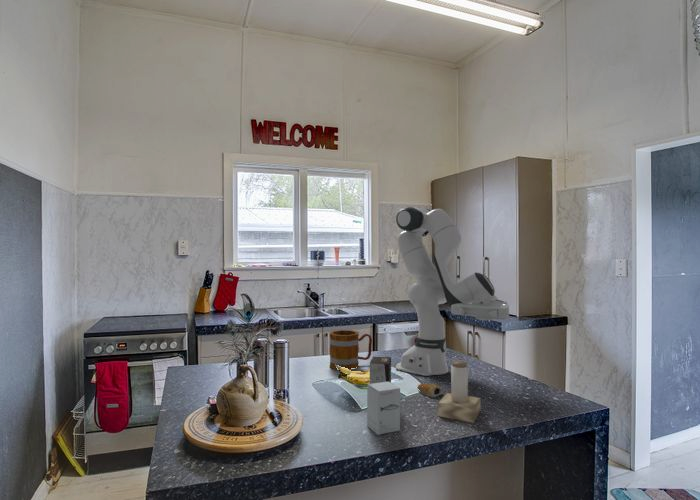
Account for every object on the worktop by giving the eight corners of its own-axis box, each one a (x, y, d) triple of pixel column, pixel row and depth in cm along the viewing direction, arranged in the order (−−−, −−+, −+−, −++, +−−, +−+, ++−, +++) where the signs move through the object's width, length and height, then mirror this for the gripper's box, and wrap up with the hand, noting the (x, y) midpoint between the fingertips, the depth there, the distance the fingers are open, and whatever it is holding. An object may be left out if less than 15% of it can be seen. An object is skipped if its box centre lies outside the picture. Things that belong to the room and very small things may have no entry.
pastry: (412, 391, 158) (413, 381, 158) (425, 388, 162) (426, 378, 162) (431, 399, 150) (431, 388, 150) (444, 395, 154) (444, 384, 154)
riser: (437, 416, 134) (437, 402, 134) (447, 404, 144) (447, 392, 144) (473, 422, 129) (473, 408, 129) (480, 410, 139) (480, 397, 139)
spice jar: (449, 401, 135) (449, 363, 135) (453, 396, 140) (453, 359, 140) (465, 404, 133) (466, 365, 133) (469, 398, 138) (469, 361, 138)
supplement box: (378, 435, 120) (378, 391, 120) (366, 425, 127) (366, 383, 127) (400, 431, 123) (400, 387, 123) (388, 421, 130) (388, 380, 130)
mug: (333, 371, 182) (333, 336, 182) (326, 363, 195) (326, 330, 195) (376, 368, 187) (376, 334, 187) (367, 360, 200) (367, 328, 200)
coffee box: (388, 414, 136) (388, 363, 135) (368, 412, 137) (368, 362, 137) (391, 404, 144) (391, 356, 144) (373, 402, 146) (373, 355, 146)
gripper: (455, 298, 166) (446, 302, 154) (511, 301, 156) (506, 306, 144) (455, 314, 166) (446, 320, 154) (511, 318, 156) (506, 324, 144)
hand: (475, 313), depth 149 cm, fingers open, 8 cm apart
